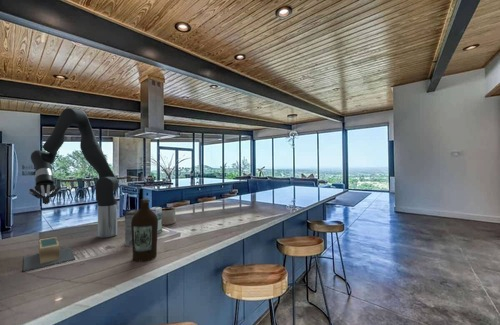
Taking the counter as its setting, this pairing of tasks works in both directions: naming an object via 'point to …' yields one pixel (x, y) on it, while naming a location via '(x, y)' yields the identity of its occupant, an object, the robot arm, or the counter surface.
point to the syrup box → (159, 215)
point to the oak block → (48, 249)
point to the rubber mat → (34, 262)
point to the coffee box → (129, 227)
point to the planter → (168, 216)
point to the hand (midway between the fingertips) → (46, 203)
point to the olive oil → (144, 233)
